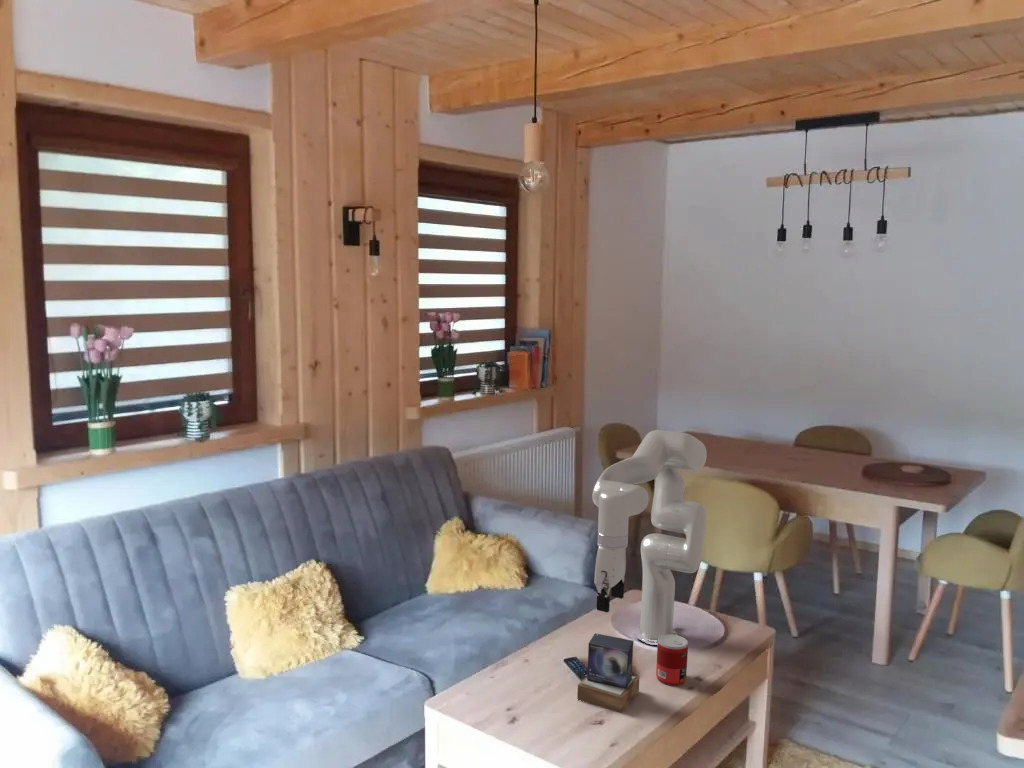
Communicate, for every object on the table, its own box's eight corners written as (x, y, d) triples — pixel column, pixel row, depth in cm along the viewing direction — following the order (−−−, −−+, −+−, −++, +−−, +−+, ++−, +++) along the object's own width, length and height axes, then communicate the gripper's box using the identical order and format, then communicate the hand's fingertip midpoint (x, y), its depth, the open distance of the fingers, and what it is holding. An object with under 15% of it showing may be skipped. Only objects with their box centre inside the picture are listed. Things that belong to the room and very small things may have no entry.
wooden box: (596, 679, 225) (596, 664, 224) (638, 691, 219) (639, 676, 218) (577, 699, 214) (577, 684, 214) (621, 712, 209) (622, 696, 208)
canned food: (686, 687, 222) (688, 648, 220) (655, 684, 223) (657, 645, 222) (686, 674, 229) (688, 635, 228) (656, 670, 231) (658, 632, 229)
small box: (585, 681, 215) (587, 642, 214) (592, 670, 221) (594, 632, 220) (626, 689, 211) (628, 650, 210) (632, 678, 217) (634, 639, 216)
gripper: (611, 527, 221) (609, 589, 223) (585, 546, 206) (582, 613, 208) (638, 532, 217) (636, 595, 220) (613, 552, 202) (611, 619, 205)
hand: (610, 603), depth 214 cm, fingers open, 9 cm apart
